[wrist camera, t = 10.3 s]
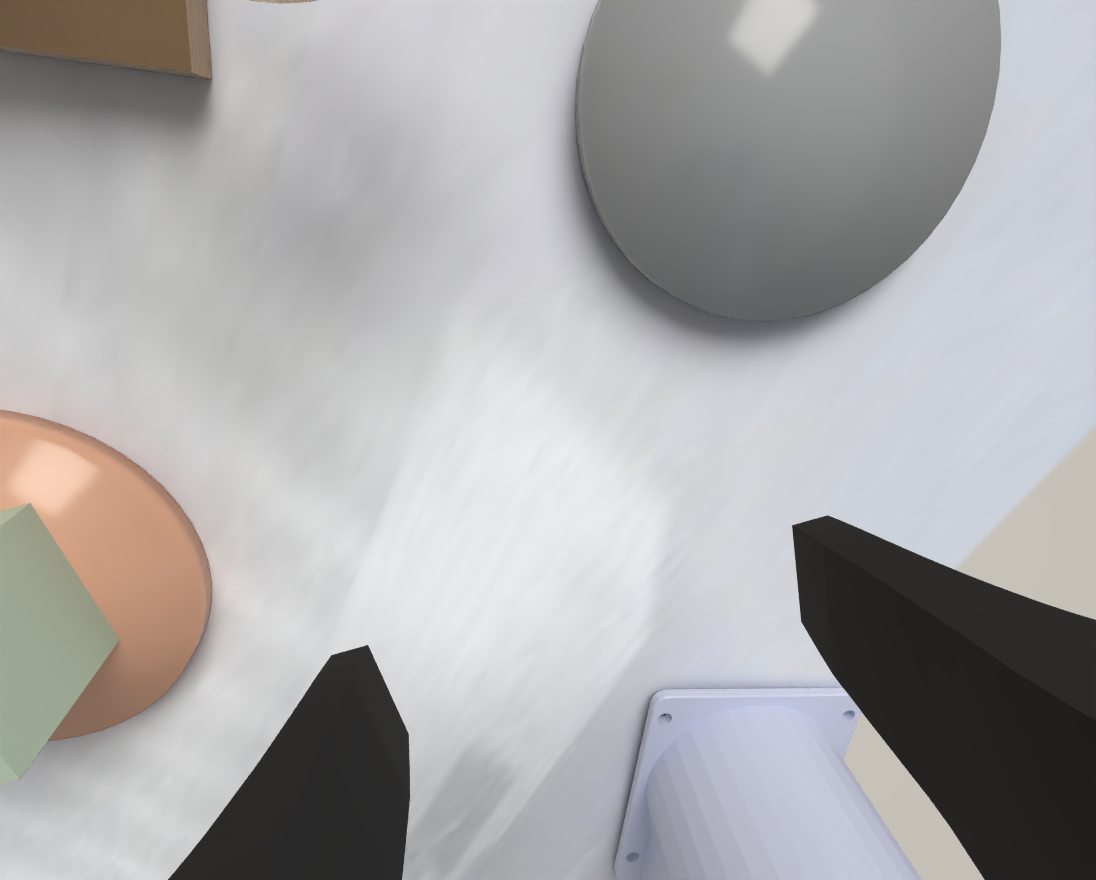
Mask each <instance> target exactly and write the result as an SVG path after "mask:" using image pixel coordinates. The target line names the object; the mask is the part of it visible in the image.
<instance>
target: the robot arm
mask: <svg viewBox="0 0 1096 880" xmlns="http://www.w3.org/2000/svg"><path fill="white" fill-rule="evenodd" d="M792 529H793V539H794V550H795V560H796V571H797V581H798V592H799V602H800V613H801V622H802V624H803V625H804V627H805V629H806V630H807V632H808V634H809V636H810V637H811V639H812V641H813V642H814V644H815V646H816V648H817V649H818V651H819V653H820V654H821V656H822V657H823V659H824V661H825V662H826V664H827V666H828V667H829V669H830V670H831V672H832V674H833V675H834V676H835V678H836V679H837V680H838V682H839V683H840V684H841V686H842V687H843V688H761V689H667V690H661V691H659V692H657V693H656V694H655V695H654V696H653V697H652V699H651V701H650V706H649V711H648V715H647V720H646V724H645V729H644V733H643V738H642V742H641V747H640V751H639V756H638V760H637V765H636V769H635V774H634V778H633V783H632V788H631V792H630V797H629V801H628V806H627V810H626V815H625V819H624V824H623V828H622V833H621V837H620V842H619V846H618V851H617V855H616V860H615V865H614V871H615V875H616V878H617V879H618V880H922V879H921V877H920V876H919V874H918V873H917V871H916V870H915V868H914V867H913V865H912V864H911V862H910V861H909V859H908V858H907V856H906V855H905V853H904V852H903V850H902V849H901V847H900V846H899V844H898V842H897V841H896V839H895V838H894V837H893V835H892V833H891V832H890V830H889V829H888V827H887V826H886V824H885V823H884V821H883V820H882V818H881V817H880V815H879V813H878V812H877V810H876V809H875V807H874V806H873V804H872V803H871V801H870V800H869V798H868V797H867V795H866V794H865V792H864V791H863V789H862V788H861V786H860V785H859V783H858V781H857V780H856V778H855V777H854V775H853V774H852V772H851V771H850V769H849V768H848V767H847V765H846V763H845V762H844V760H843V758H844V755H845V753H846V750H847V747H848V745H849V742H850V739H851V737H852V734H853V731H854V729H855V726H856V723H857V721H858V718H859V716H860V713H861V712H862V713H863V714H864V715H865V717H866V718H867V719H868V721H869V722H870V723H871V724H872V726H873V727H874V728H875V729H876V731H877V732H878V733H879V734H880V736H881V737H882V738H883V739H884V741H885V742H886V743H887V745H888V746H889V747H890V748H891V750H892V751H893V752H894V754H895V755H896V756H897V757H898V759H899V760H900V761H901V763H902V764H903V765H904V766H905V768H906V769H907V770H908V771H909V773H910V774H911V775H912V777H913V778H914V779H915V780H916V782H917V783H918V784H919V785H920V787H921V788H922V789H923V791H924V792H925V793H926V794H927V796H928V797H929V798H930V800H931V801H932V802H933V803H934V805H935V807H936V808H937V809H938V811H939V812H940V813H941V815H942V816H943V818H944V819H945V820H946V822H947V823H948V824H949V826H950V827H951V829H952V830H953V832H954V833H955V835H956V836H957V838H958V839H959V841H960V843H961V844H962V846H963V847H964V849H965V850H966V852H967V853H968V855H969V856H970V858H971V859H972V861H973V862H974V864H975V866H976V867H977V869H978V870H979V871H980V873H981V875H982V876H983V878H984V879H985V880H1096V620H1094V619H1091V618H1088V617H1084V616H1081V615H1077V614H1074V613H1071V612H1068V611H1065V610H1062V609H1059V608H1056V607H1053V606H1050V605H1047V604H1044V603H1041V602H1038V601H1035V600H1032V599H1030V598H1027V597H1024V596H1021V595H1019V594H1016V593H1013V592H1011V591H1008V590H1005V589H1003V588H1000V587H997V586H994V585H992V584H989V583H986V582H984V581H981V580H979V579H976V578H974V577H971V576H968V575H966V574H964V573H961V572H959V571H956V570H954V569H951V568H949V567H946V566H944V565H942V564H939V563H937V562H935V561H932V560H930V559H927V558H925V557H923V556H920V555H918V554H916V553H914V552H911V551H909V550H907V549H904V548H902V547H900V546H898V545H895V544H893V543H891V542H888V541H886V540H884V539H882V538H879V537H877V536H875V535H873V534H870V533H868V532H866V531H864V530H861V529H859V528H857V527H854V526H852V525H850V524H847V523H845V522H843V521H840V520H838V519H835V518H833V517H830V516H824V517H820V518H817V519H813V520H810V521H806V522H803V523H799V524H796V525H792ZM666 713H667V714H666ZM662 714H665V715H664V716H661V715H662ZM409 801H410V764H409V734H408V732H407V730H406V727H405V725H404V723H403V721H402V719H401V716H400V714H399V712H398V710H397V708H396V705H395V703H394V701H393V699H392V697H391V695H390V692H389V690H388V688H387V686H386V684H385V681H384V679H383V677H382V675H381V673H380V670H379V668H378V666H377V664H376V662H375V659H374V657H373V655H372V653H371V651H370V648H369V646H368V645H366V646H363V647H359V648H356V649H352V650H349V651H345V652H342V653H338V654H334V655H331V657H330V658H329V660H328V661H327V662H326V664H325V665H324V667H323V668H322V669H321V671H320V672H319V674H318V675H317V677H316V678H315V680H314V681H313V683H312V684H311V686H310V687H309V689H308V690H307V692H306V693H305V695H304V696H303V698H302V699H301V701H300V702H299V704H298V705H297V707H296V708H295V710H294V711H293V713H292V714H291V716H290V717H289V719H288V720H287V722H286V723H285V725H284V726H283V728H282V729H281V731H280V732H279V734H278V735H277V736H276V738H275V739H274V741H273V742H272V744H271V745H270V747H269V748H268V750H267V751H266V752H265V754H264V755H263V757H262V758H261V760H260V761H259V763H258V764H257V766H256V767H255V768H254V770H253V771H252V772H251V774H250V775H249V776H248V778H247V779H246V780H245V782H244V783H243V784H242V786H241V787H240V788H239V790H238V791H237V793H236V794H235V795H234V797H233V798H232V799H231V801H230V802H229V803H228V805H227V806H226V807H225V809H224V810H223V811H222V813H221V814H220V815H219V817H218V818H217V819H216V821H215V822H214V823H213V825H212V826H211V827H210V829H209V830H208V831H207V833H206V834H205V835H204V836H203V838H202V839H201V840H200V842H199V843H198V844H197V845H196V847H195V848H194V849H193V850H192V852H191V853H190V854H189V855H188V856H187V858H186V859H185V860H184V861H183V863H182V864H181V865H180V866H179V867H178V869H177V870H176V871H175V872H174V873H173V874H172V876H171V877H170V878H169V879H168V880H402V874H403V864H404V854H405V844H406V834H407V824H408V813H409Z"/></svg>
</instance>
